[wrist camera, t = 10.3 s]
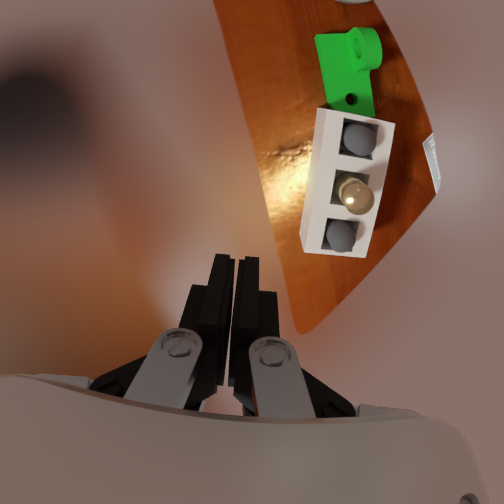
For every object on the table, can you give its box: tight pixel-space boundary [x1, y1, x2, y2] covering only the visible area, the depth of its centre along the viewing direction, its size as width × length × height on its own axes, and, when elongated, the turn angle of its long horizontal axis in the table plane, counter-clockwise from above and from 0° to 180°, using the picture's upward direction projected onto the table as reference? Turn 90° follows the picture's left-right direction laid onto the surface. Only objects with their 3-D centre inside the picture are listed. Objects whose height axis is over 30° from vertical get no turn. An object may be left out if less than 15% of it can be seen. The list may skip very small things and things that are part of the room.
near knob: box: [340, 122, 377, 156], centre depth 34 cm, size 4×4×6 cm
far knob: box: [324, 218, 356, 253], centre depth 41 cm, size 4×4×6 cm
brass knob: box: [333, 172, 375, 215], centre depth 35 cm, size 4×4×6 cm
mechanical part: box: [314, 28, 382, 117], centre depth 31 cm, size 12×6×8 cm, turn 11°
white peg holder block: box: [299, 108, 395, 258], centre depth 39 cm, size 19×9×6 cm, turn 175°
